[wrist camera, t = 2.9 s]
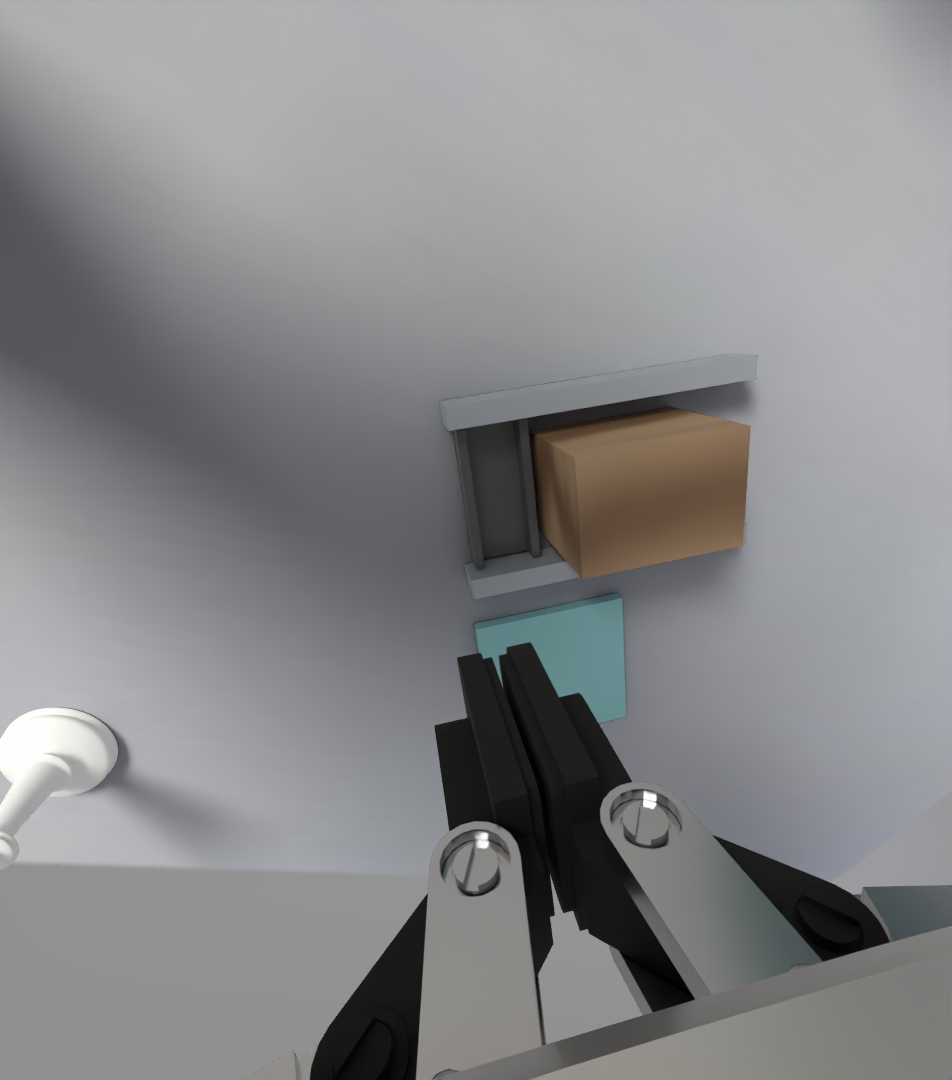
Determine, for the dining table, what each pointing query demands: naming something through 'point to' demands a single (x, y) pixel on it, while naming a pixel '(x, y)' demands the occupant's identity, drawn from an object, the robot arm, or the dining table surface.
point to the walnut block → (641, 488)
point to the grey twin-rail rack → (506, 468)
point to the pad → (570, 649)
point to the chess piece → (49, 764)
